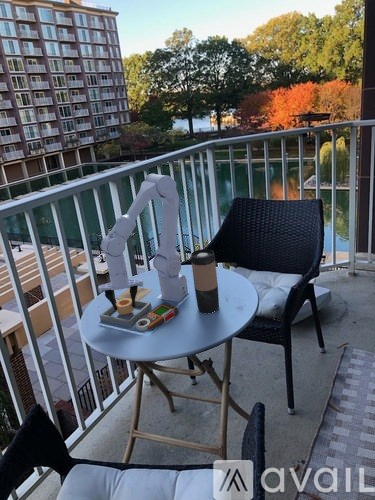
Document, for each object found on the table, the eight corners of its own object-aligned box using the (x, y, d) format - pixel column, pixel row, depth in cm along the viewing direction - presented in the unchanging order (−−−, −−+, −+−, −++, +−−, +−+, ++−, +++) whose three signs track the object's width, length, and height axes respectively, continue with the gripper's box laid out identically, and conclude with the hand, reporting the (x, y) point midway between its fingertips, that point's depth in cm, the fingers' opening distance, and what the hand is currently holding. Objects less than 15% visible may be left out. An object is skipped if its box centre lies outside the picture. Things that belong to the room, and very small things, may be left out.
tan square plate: (152, 291, 140) (151, 281, 138) (137, 304, 132) (135, 293, 130) (131, 287, 145) (129, 278, 143) (115, 299, 137) (113, 290, 135)
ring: (133, 313, 122) (132, 305, 121) (117, 315, 122) (115, 307, 121) (134, 302, 129) (132, 294, 128) (118, 304, 129) (117, 297, 128)
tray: (151, 308, 127) (150, 302, 126) (130, 328, 117) (129, 321, 116) (123, 303, 133) (122, 297, 132) (101, 321, 123) (99, 315, 122)
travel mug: (224, 306, 123) (219, 251, 116) (210, 316, 118) (203, 260, 111) (207, 300, 128) (201, 247, 121) (192, 310, 123) (185, 255, 116)
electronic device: (130, 322, 117) (165, 300, 126) (132, 330, 118) (166, 307, 127) (144, 329, 112) (178, 306, 121) (146, 337, 113) (180, 313, 122)
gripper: (140, 263, 123) (146, 298, 128) (97, 269, 123) (105, 304, 128) (139, 271, 117) (146, 308, 122) (94, 278, 116) (102, 315, 121)
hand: (125, 307), depth 124 cm, fingers closed on ring, 5 cm apart
